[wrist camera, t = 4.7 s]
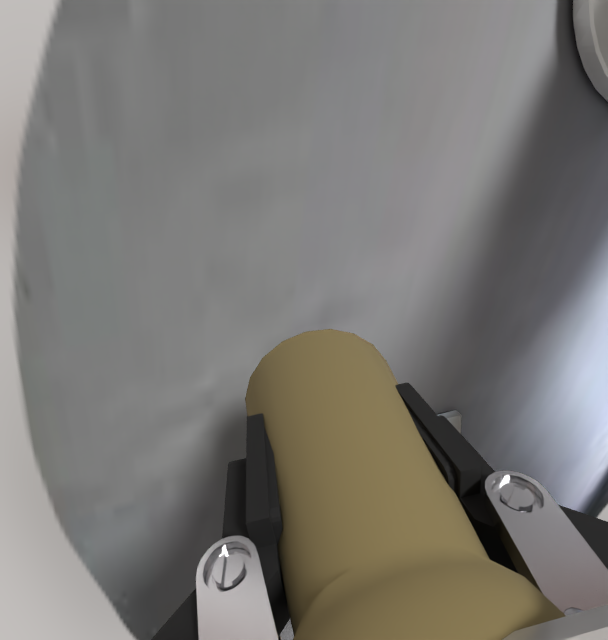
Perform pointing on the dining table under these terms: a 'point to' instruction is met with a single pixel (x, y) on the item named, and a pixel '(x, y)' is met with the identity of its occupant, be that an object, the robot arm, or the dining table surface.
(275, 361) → the olive brown knobbed peg
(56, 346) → the dining table surface
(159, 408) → the dining table surface
